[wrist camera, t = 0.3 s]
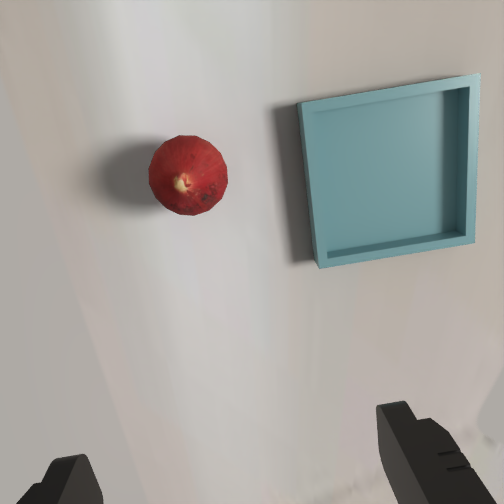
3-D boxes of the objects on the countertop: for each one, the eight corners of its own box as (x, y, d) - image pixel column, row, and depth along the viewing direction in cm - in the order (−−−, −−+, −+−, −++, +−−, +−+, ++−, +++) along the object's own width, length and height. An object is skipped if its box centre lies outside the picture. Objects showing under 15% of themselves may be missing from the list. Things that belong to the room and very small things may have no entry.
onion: (242, 170, 34) (245, 188, 26) (194, 217, 35) (184, 246, 27) (192, 117, 32) (180, 119, 25) (143, 168, 33) (117, 184, 26)
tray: (296, 103, 32) (301, 102, 30) (464, 75, 32) (480, 73, 30) (314, 259, 37) (319, 268, 35) (460, 235, 37) (474, 243, 35)
